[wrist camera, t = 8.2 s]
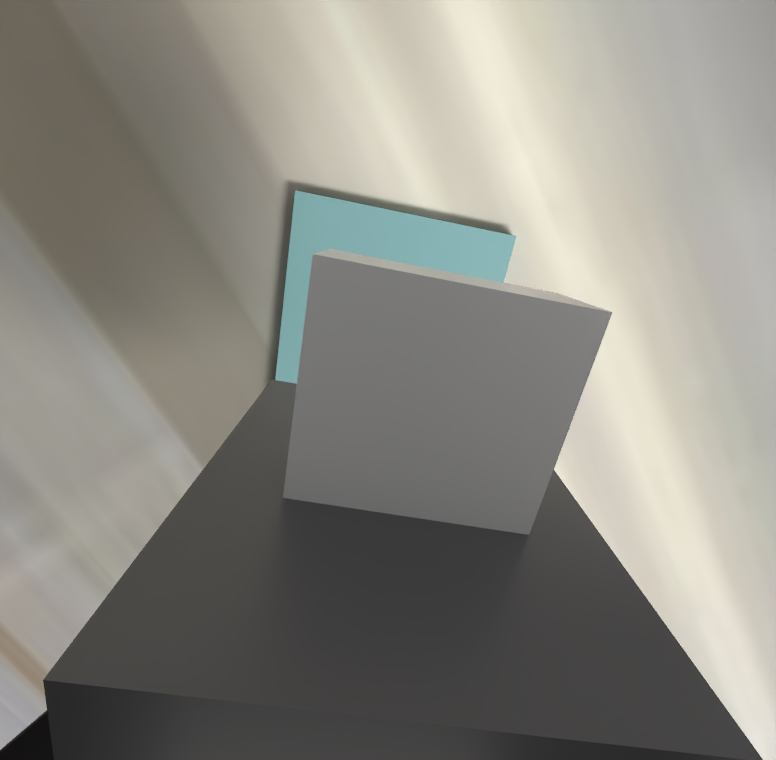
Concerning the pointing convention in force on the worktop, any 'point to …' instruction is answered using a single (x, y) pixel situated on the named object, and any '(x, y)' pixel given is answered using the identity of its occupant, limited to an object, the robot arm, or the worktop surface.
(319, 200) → the mat
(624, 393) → the worktop surface
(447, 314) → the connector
